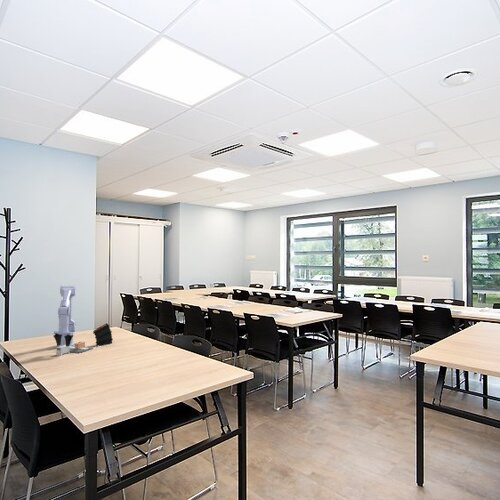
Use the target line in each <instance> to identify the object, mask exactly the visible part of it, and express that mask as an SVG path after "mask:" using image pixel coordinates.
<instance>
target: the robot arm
mask: <svg viewBox="0 0 500 500" xmlns="http://www.w3.org/2000/svg"><path fill="white" fill-rule="evenodd" d="M76 290H77V286H76V285H60V287H59V294H60V296H61V297H62V299H61V301H60V304H59V307H58V309H57V315H58V330H54V331H53V338H54V340H55V342H56V346H57V347H59V346H61V345H65V344H66V346H69V345H70V346H75V343H74V333H75V332H76V328H77V327H76V321H75V320H74V319H72V310H73V309H72V308H73V307H72V305H73V304H72V303H73V302H72V301H73V297H75V296H76V293H77V291H76Z"/></svg>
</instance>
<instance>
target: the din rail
mask: <svg viewBox="0 0 500 500" xmlns="http://www.w3.org/2000/svg"><path fill="white" fill-rule="evenodd" d="M65 345H66V344H65ZM61 346H63V345H61ZM91 350H94V347H91V346H90V347H88V346H85V347H83V348H80V349H75V345H72V346H70V353H75V354H81V353H85V352H88V351H91Z"/></svg>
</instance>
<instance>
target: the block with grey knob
mask: <svg viewBox="0 0 500 500" xmlns="http://www.w3.org/2000/svg"><path fill="white" fill-rule="evenodd" d="M74 344H75V345H74V346H75V349H80V348H83V347H86V342H85V341H79V342H75V343H74Z"/></svg>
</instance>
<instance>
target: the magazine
mask: <svg viewBox="0 0 500 500" xmlns="http://www.w3.org/2000/svg"><path fill="white" fill-rule="evenodd" d="M92 333H93V334H94V336H95V337H94V338H95V345H96V346H104V345H110V344H113V340H114V339H113V334H112V330H111V328H110V324H108V323H105V324H103V325H100V326H99V327H98V328H96V329H94V330H93V331H92Z"/></svg>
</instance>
